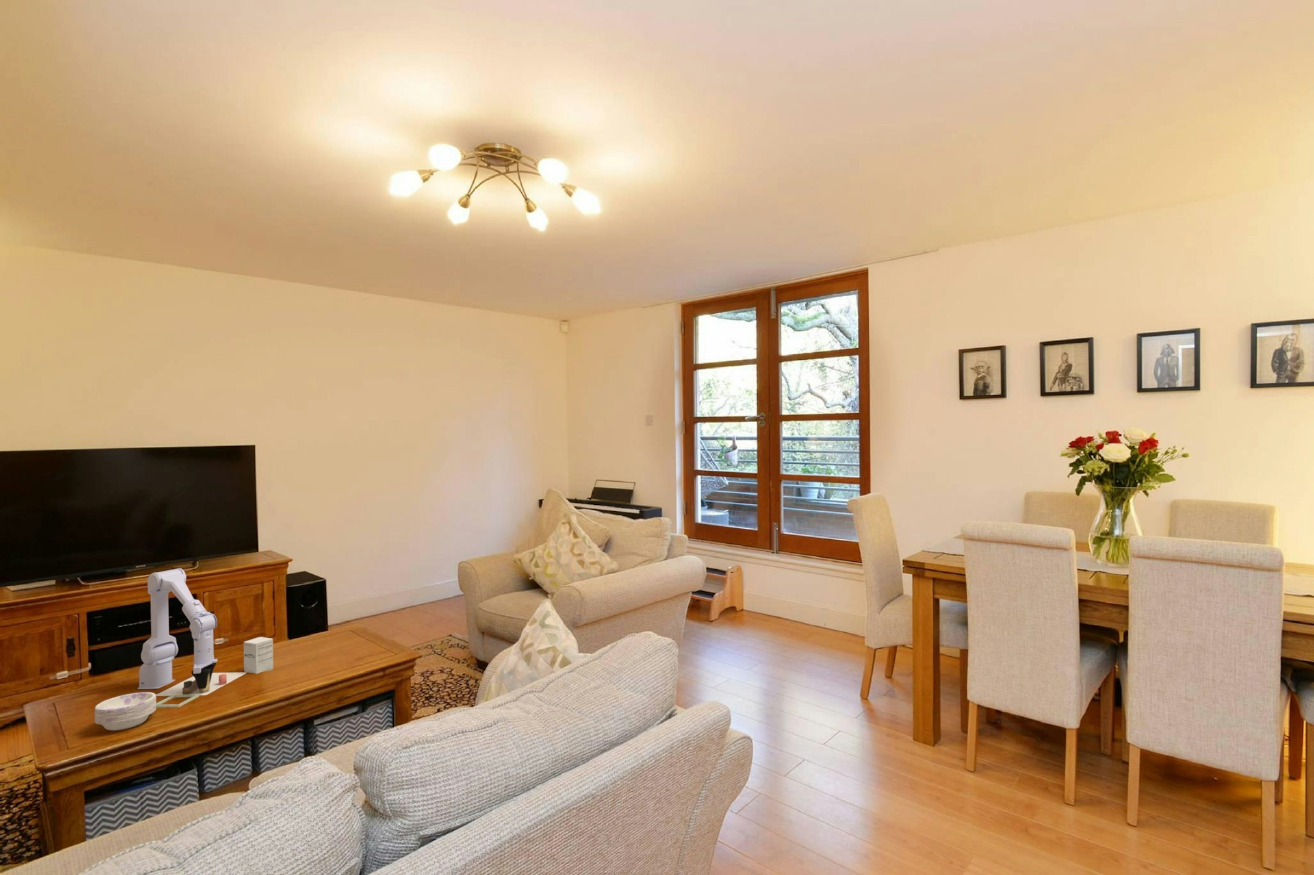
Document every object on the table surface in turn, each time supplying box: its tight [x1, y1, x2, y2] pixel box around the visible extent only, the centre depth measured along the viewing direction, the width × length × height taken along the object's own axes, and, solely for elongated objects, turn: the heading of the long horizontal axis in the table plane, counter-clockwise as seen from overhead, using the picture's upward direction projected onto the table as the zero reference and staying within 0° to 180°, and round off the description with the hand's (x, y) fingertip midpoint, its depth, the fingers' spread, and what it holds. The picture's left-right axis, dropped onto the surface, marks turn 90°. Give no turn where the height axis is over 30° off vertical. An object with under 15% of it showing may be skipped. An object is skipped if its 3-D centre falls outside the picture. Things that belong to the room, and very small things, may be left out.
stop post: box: [219, 674, 228, 686], centre depth 232 cm, size 2×2×3 cm
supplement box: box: [243, 636, 274, 675], centre depth 247 cm, size 7×7×13 cm
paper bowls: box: [94, 691, 157, 732], centre depth 201 cm, size 15×15×8 cm
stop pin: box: [199, 673, 210, 692], centre depth 225 cm, size 3×3×6 cm
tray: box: [156, 694, 200, 709], centre depth 217 cm, size 9×9×2 cm
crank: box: [182, 680, 198, 694], centre depth 229 cm, size 13×4×4 cm, turn 9°
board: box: [156, 671, 248, 697], centre depth 233 cm, size 19×22×1 cm
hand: (204, 686), depth 225 cm, fingers closed on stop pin, 3 cm apart
